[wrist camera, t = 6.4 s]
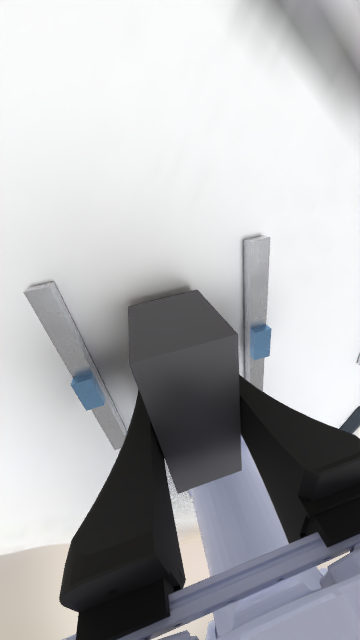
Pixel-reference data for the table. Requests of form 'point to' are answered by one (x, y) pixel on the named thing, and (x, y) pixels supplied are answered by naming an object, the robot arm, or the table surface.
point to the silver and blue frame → (85, 373)
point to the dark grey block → (188, 385)
